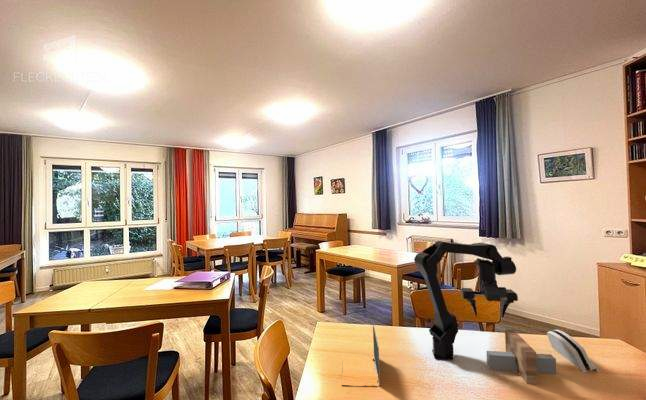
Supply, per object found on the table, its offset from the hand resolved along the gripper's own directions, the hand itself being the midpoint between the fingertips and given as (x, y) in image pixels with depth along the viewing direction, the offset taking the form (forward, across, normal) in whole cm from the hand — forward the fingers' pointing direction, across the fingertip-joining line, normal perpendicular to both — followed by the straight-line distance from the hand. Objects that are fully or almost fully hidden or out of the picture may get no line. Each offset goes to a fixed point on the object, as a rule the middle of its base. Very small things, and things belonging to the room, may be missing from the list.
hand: (488, 316), depth 114 cm
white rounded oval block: (+13, +25, -2) cm, 28 cm away
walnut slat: (+13, +6, -12) cm, 19 cm away
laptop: (+14, -48, -22) cm, 54 cm away
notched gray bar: (+13, +6, -12) cm, 19 cm away
